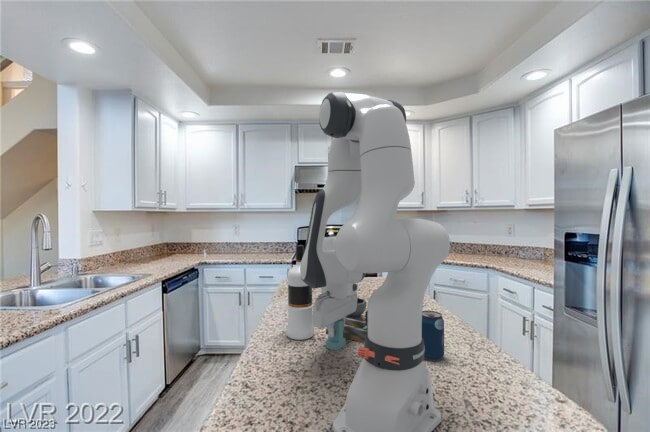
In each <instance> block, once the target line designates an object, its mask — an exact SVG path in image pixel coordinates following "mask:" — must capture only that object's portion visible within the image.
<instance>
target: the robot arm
mask: <svg viewBox="0 0 650 432" xmlns="http://www.w3.org/2000/svg"><path fill="white" fill-rule="evenodd" d="M318 116H319V118H318V119H319V120H318V121H319V126H320V129H321V130H322V132H323V133H324V135H326V136H329V137H332V138H331V141H330V146H329V150H328V151H329V152H328V157H327V158H328V159H327V177H326V181H325V184H324V186H323V188H322V189H320V190H318V191H317V192H316V194H315V197H314V200H313V203H312V208H311V211H310V219H309V224H308V229H307V235H306V241H305V245H304V253H303V257H302V261H301V265H300V274H301V279H302V280H303V281H304V283H306V284H307V285H308V286H310V287H311V288H312V290H314V289H318V288H319V289H320V288H321V293H319V294H318V295H317V297H316V299H315V300H314V303H313V309H312V315H313V316H312V323H313V325H314V328H317V329H318V328H319V329H324V328H326V329H328V334H327V336H329V337H334V336H335V335H336V330H334V328H333V326H334V322H336V321H338V320H343V331H344V324H345V321H346V316H347V315H349V314H351V313H353V312H355V311H356V308H357V298H358V290H359V284H358V283H361V282H362V281H363V280H364V278H365V277H366V275H367V274H369V275H370V274H380V273H387V274H386V277H385V279H384V281H383V282H382V284H381V285H380V286H379V287H378V288H377V289H375V290H374V291H373V292H372V293H371V294H370V296H369V297H368V301H367V303H366V309H367V310H366V311H367V312H368V333H367V335H366V339H365V342H364V343H363V346H361V345H360V346H358V350H357V356H358V357H359V358H362V360H361V362H360V363H359V366H358V368H357V370H356V372H355V375H354V376H353V379H352V381H351V384H350V386H349V388H348V391H347V392H346V393H347V394H346V398H345V402H344V403H343V405H342V407H341V409H340V410H339V412H338V414H337V415H336V417H335V419H334V420H333V422H332V428H331V429H332V431H333V432H432V431H434V430H435V428H436V427H438V425H440V423H441V422H442V413H441V412H440V411H439V410H438V409H437V408H436V407H435V406H434V394H433V391H434V390H433V379H432V377H433V376H432V373H431V371H430V370H429V369H428V367H427V365H426V364H425V361H424V360H425V359H424V352H425V346H424V340H423V338H422V311H423V307H424V306H423V305H424V299H425V296H426V293H427V292H426V291H427V288H428V286H429V284H430V281H431V279H432V277H433V275H434V273H435V272H436V270H437V269H438V267H440V265H441V264H442V263H444V262H445V260H447V258H448V256H449V253H450V250H451V241H450V236H449V233H448V231H447V230H446V228H445V227H444V226H443V225H442V224H441V223H439V222H437V221H432V220H429V219H425V218H424V219H423V218H417V217H416V218H413V217H411V218H397V216H398V215H397V214H398V207H399V204H400V202H401V201H402V200H404V199H405V198H407V197H408V196H409V195H410V194H411V193H412V191H413V190H414V187H415V183H416V182H415V172H414V164H413V163H414V162H413V153H412V146H411V145H412V143H411V139H410V135H409V131H408V127H407V113H406V110H405V108H404V106H403V105H402V104H400V103H399V102H397V101H394V100H391V99H384V98H381V97H377V96H373V95H369V94H365V93H353V92H352V93H350V92H349V93H348V92H347V93H345V92H344V91H334V92H329V93H327V94H326V96H325V97H324V98H323V100H322V101H321V104H320V109H319V115H318ZM357 202H358V203H357ZM355 203H357V204H358V205H357V206H356V208H355V210H354V212H353V214H352V215H351V217H350V218H349V219H348V220H347V221H346V222H345V223H344V224H342V226H340V228H339V229H338V231H337V233H336V235H329V236H325V234H326V230H327V223H328V221H329V218H330V217H331V216H332V215H333V214H334V213H336V212H337V211H340V210H341V209H345V208H347V207H350V206H351V205H354V204H355Z"/></svg>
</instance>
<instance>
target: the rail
mask: <svg viewBox="0 0 650 432" xmlns="http://www.w3.org/2000/svg"><path fill="white" fill-rule="evenodd" d="M364 316H365V320H364V321H362V320H360V321H359V320H355V319H350V318H346V321H345V324H344V331H343V338H346V340H350V341H353V340H354V341H355V342H357V341H358V342H357V343H361V344H364V342H365V339H366V335H367V333H368V312H367V310H365V311H364ZM325 334H327V335H328V329H327V328H326V329H325Z"/></svg>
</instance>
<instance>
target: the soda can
mask: <svg viewBox="0 0 650 432" xmlns="http://www.w3.org/2000/svg"><path fill="white" fill-rule="evenodd" d="M422 338H423V340H424V346H425V352H424V360H427V361H429V362H436V361H441V360H442V358H443V357H444V355H445V320H444V319H443V315H442V313H441V312H439V311H435V310H422Z"/></svg>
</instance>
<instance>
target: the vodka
mask: <svg viewBox="0 0 650 432" xmlns="http://www.w3.org/2000/svg"><path fill="white" fill-rule="evenodd" d="M295 247H296V249H295V252H296V254H295V259H296V260H295V262H296V263H295V265H293V267H291V268H290V269H289V270H288V271H287V298H288V299H287V325H286V329H285V330H286V333H285V334H286V336H287V338H289V339H291V340H295V341H303V340H304V341H305V340H308V339H310V338H312V337H314V335H315V327H314V325H313V323H312V316H313V306H314V303H313V288H311V287H310V286H308V285H307V284H306V283H304V281H303V280H302V279H301V274H300V265H301V261H302V257H303V253H304V249H305V245H303V244H297V245H296V246H295Z"/></svg>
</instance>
